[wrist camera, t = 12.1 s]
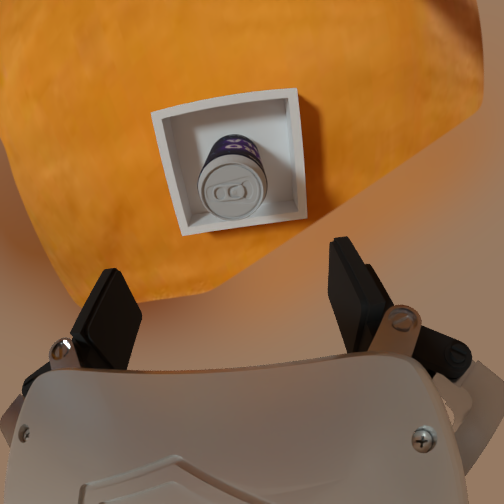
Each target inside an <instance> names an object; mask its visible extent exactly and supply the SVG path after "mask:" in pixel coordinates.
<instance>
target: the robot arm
mask: <svg viewBox="0 0 504 504" xmlns="http://www.w3.org/2000/svg"><path fill="white" fill-rule="evenodd" d="M328 296H329V300H330V303H331V305H332V308H333V311H334V314H335V317H336V320H337V323H338V326H339V329H340V332H341V335H342V338H343V341H344V344H345V347H346V350H347V354H340V355H333V356H327V357H320V358H314V359H307V360H300V361H293V362H285V363H277V364H269V365H260V366H249V367H238V368H225V369H208V370H184V371H183V370H181V371H138V370H136V371H135V370H127V367H128V363H129V359H130V356H131V353H132V349H133V346H134V342H135V339H136V335H137V333H138V329H139V326H140V323H141V320H142V313H141V310H140V309H139V307H138V305H137V303H136V301H135V299H134V297H133V295H132V293H131V291H130V289H129V287H128V285H127V283H126V281H125V279H124V277H123V275H122V273H121V272H120V271H118V270H117V269H116V268H111V269H105V270H104V271H103V272H102V274H101V276H100V277H99V279H98V281H97V282H96V284H95V286H94V288H93V290H92V291H91V293H90V295H89V297H88V299H87V301H86V302H85V304H84V306H83V308H82V310H81V312H80V314H79V316H78V318H77V320H76V322H75V324H74V326H73V328H72V330H71V332H70V334H71V335H72V336H73V338H72V340H71V339H70V338H61V339H59V340H58V341H56V342H55V343H54V344H53V345H52V347H51V349H50V351H49V360H50V361H49V362H48V363H46V364H45V365H44V366H42V367H41V368H40V369H38V370H37V371H36V372H34V373H33V374H32V375H30V376H29V377H28V378H27V379H25V381H24V384H23V387H22V394H23V395H21V394H19V395H18V397H17V398H16V399H15V400H14V402H13V403H12V404H11V405H10V407H9V408H8V409H7V410H6V412H5V413H4V415H3V416H2V418H1V420H0V429H1V431H2V433H3V435H4V437H5V439H6V441H7V443H8V445H9V447H10V453H9V458H8V465H7V471H6V479H5V491H4V504H469V502H468V495H467V488H466V481H465V476H466V474H467V473H468V472H469V470H470V469H471V468H472V466H473V465H474V464H475V462H476V461H477V459H478V458H479V456H480V455H481V453H482V452H483V450H484V449H485V447H486V446H487V444H488V442H489V441H490V439H491V438H492V436H493V434H494V433H495V431H496V429H497V427H498V426H499V424H500V422H501V420H502V418H503V416H504V381H503V380H502V379H501V378H499V377H498V376H497V375H496V374H495V373H493V372H492V371H491V370H490V369H488V368H487V367H486V366H484V365H483V364H482V363H481V362H480V361H477V362H474V361H473V360H472V355H471V351H470V349H469V348H468V347H467V345H465V344H464V343H462V342H461V341H459V340H456V339H453V338H451V337H449V336H446V335H444V334H441V333H439V332H437V331H434V330H432V329H429V328H427V327H424V326H422V325H421V322H422V320H421V317H420V315H419V314H418V312H417V311H416V310H414V309H413V308H411V307H409V306H405V305H395V306H394V304H393V302H392V300H391V299H390V297H389V295H388V293H387V292H386V290H385V288H384V286H383V285H382V283H381V282H380V279H379V278H378V276H377V274H376V273H375V271H374V269H373V268H372V266H371V265H370V264H364V262H363V261H362V259H361V257H360V256H359V254H358V252H357V251H356V249H355V247H354V246H353V244H352V242H351V241H350V239H349V238H348V237H347V236H346V237H338V238H334V241H333V242H330V248H329V276H328ZM441 397H442V398H443V399H444V400H445V401H446V403H445V404H446V405H447V406H448V407H449V408H450V409H451V410H452V411H453V413H454V423H453V425H451V422H450V420H449V416H448V414H447V411H446V409H445V406H444V403H443V401H442V398H441ZM414 432H415V433H414Z"/></svg>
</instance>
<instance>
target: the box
mask: <svg viewBox="0 0 504 504" xmlns="http://www.w3.org/2000/svg"><path fill="white" fill-rule="evenodd" d="M151 116H152V121H153V125H154V130H155V134H156V139H157V143H158V147H159V151H160V156H161V160H162V164H163V168H164V172H165V176H166V180H167V183H168V187H169V191H170V195H171V198H172V202H173V206H174V209H175V213H176V216H177V220H178V223H179V227H180V230H181V233H182V236H184V235H191V234H197V233H204V232H211V231H217V230H224V229H231V228H238V227H245V226H252V225H260V224H267V223H274V222H282V221H290V220H298V219H306V218H307V199H306V182H305V167H304V154H303V142H302V131H301V120H300V111H299V102H298V93H297V88H289V89H276V90H266V91H257V92H248V93H241V94H234V95H228V96H222V97H216V98H211V99H205V100H200V101H196V102H191V103H187V104H182V105H178V106H174V107H170V108H166V109H162V110H158V111H155V112H151ZM231 134H238V135H243V136H245V137H247V138H249V139H250V140H251V141H252V142H253V143H254V144H255V145H256V147H257V149H258V152H259V155H260V158H261V161H262V164H263V168H264V171H265V174H266V178H267V183H268V188H267V194H266V197H265V199H264V201H263V203H262V204H261V205H260V206H259V208H258V209H257V210H256V211H255V212H254V213H253V214H252V215H250V216H249V217H247V218H245V219H242V220H237V221H227V220H223V219H220V218H217V217H215V216H214V215H212V214H211V213H210V212H209V211H208V210H207V209H206V208H205V206H204V204H203V203H202V201H201V199H200V197H199V194H198V189H197V183H198V178H199V175H200V172H201V170H202V168H203V166H204V163H205V161H206V159H207V157H208V155H209V153H210V150H211V148H212V146H213V145H214V144H215V142H216V141H217V140H219V139H220V138H222V137H224V136H226V135H231Z"/></svg>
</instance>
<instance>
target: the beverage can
mask: <svg viewBox="0 0 504 504" xmlns="http://www.w3.org/2000/svg"><path fill="white" fill-rule="evenodd" d="M267 188H268V183H267V178H266V174H265V171H264V168H263V164H262V161H261V158H260V155H259V152H258V149H257V147H256V145H255V144H254V143H253V142H252V141H251V140H250V139H249V138H247V137H245V136H243V135H238V134H231V135H226V136H224V137H222V138H220V139H219V140H217V141H216V142H215V144H214V145H213V146H212V148H211V150H210V153H209V155H208V157H207V159H206V161H205V163H204V166H203V168H202V170H201V172H200V175H199V178H198V183H197V189H198V194H199V197H200V199H201V201H202V203H203V204H204V206H205V208H206V209H207V210H208V211H209V212H210V213H211V214H212V215H214V216H215V217H217V218H220V219H223V220H227V221H237V220H242V219H245V218H247V217H249V216H250V215H252V214H253V213H254V212H255V211H256V210H257V209H258V208H259V206H260V205H261V204H262V203H263V201H264V199H265V197H266V194H267Z"/></svg>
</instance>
